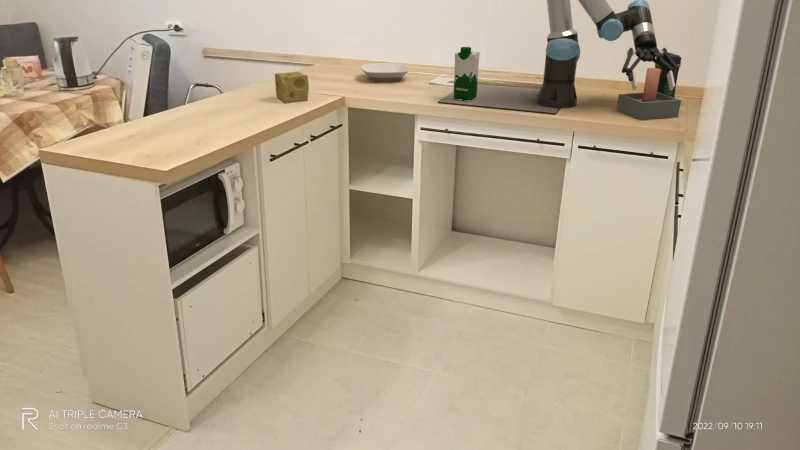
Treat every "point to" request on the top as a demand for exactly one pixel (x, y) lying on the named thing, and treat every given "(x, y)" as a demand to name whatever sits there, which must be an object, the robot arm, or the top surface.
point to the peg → (651, 84)
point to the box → (648, 106)
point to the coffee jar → (663, 80)
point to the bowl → (385, 71)
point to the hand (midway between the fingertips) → (653, 88)
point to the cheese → (291, 87)
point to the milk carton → (466, 74)
